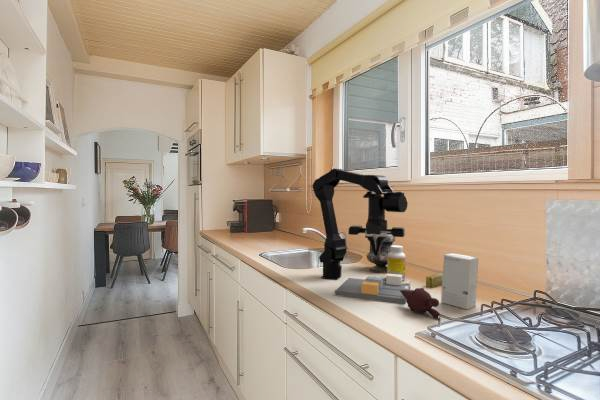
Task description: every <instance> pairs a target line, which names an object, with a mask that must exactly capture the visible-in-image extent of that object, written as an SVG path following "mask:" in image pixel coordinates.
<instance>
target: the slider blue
mask: <svg viewBox="0 0 600 400" xmlns="http://www.w3.org/2000/svg"><path fill="white" fill-rule="evenodd" d="M365 280H366V281H367V282H376V283H379V289H381V288H382V281H383V277H380V276H379V277H378V276H377V277H376V276H366V278H365Z"/></svg>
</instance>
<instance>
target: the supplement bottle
mask: <svg viewBox="0 0 600 400" xmlns="http://www.w3.org/2000/svg"><path fill="white" fill-rule="evenodd" d="M390 249H391V252H389V253H388V264H387V267H388V273H387V274H399V275H402V282H403V281H405V280H406V254H405V253H404V252H403V250H404V246H403V245H398V244H397V245H393V244H392V246H390Z"/></svg>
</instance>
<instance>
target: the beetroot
mask: <svg viewBox="0 0 600 400" xmlns="http://www.w3.org/2000/svg"><path fill="white" fill-rule="evenodd" d="M400 292H401V293H402V295H403V296H404V297H405V298H406V300H407V301H406V304H407V307H408V308H409V309H410V311H411V312H417V313H420V314H425V313H428V314H429V315H430V316H431V317H433V318H434V319H436V320H439V319H438V316H439V315H440V316H441V314H440V312H439V311H438V310H436V309H434V308H436V307H439V305H440V301H439V299H438V298H434V297H432V296H431V294H430V293H429V292H428V291H426V290H425V289H424V288H423V287H417V288H415V289H410V290H400Z"/></svg>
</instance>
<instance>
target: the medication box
mask: <svg viewBox="0 0 600 400" xmlns="http://www.w3.org/2000/svg"><path fill="white" fill-rule="evenodd" d="M442 280H443V271H442V272H438V273H435V274H432V275H427V276H425V284H426V285H425V286H426V287H427V288H430V289H434V288H438V286H439V287H442Z"/></svg>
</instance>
